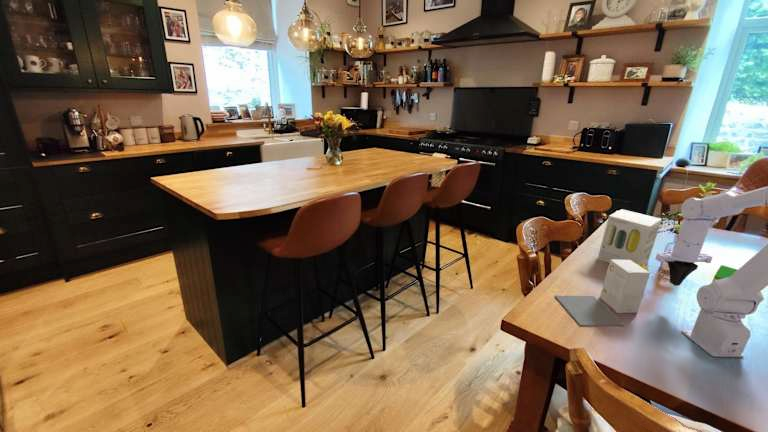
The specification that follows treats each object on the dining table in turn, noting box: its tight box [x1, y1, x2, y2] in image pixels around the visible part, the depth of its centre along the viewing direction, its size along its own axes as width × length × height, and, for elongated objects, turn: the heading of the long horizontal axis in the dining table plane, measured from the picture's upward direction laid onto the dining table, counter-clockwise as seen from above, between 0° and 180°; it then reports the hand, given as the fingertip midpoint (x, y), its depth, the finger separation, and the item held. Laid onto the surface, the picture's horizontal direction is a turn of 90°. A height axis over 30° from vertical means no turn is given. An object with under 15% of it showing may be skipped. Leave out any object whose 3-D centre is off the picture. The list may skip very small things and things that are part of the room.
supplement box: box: [597, 208, 663, 266], centre depth 130 cm, size 13×13×18 cm
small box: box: [599, 259, 651, 314], centre depth 103 cm, size 8×6×13 cm
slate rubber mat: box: [554, 295, 625, 327], centre depth 102 cm, size 14×12×1 cm
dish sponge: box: [712, 264, 738, 282], centre depth 122 cm, size 7×14×2 cm, turn 131°
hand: (674, 283), depth 103 cm, fingers closed
